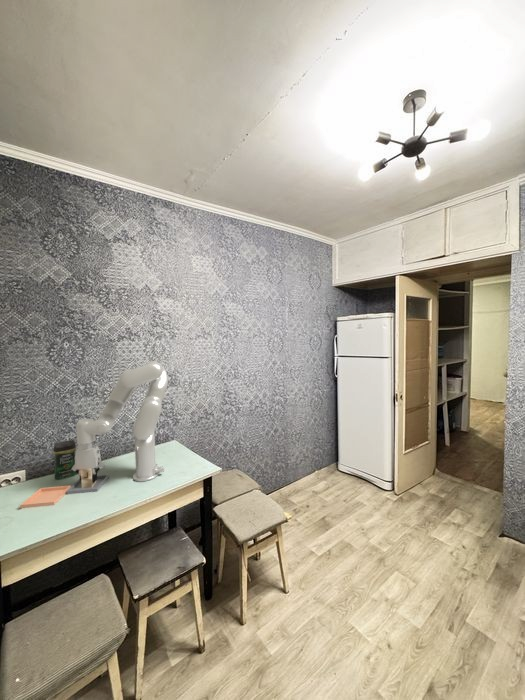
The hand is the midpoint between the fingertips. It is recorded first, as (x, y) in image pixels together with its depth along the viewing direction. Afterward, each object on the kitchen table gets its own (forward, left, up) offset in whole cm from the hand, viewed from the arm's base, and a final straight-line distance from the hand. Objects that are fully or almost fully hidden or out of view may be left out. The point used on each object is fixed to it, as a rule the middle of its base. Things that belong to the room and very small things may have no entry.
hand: (88, 481), depth 134 cm
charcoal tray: (0, 0, -3) cm, 3 cm away
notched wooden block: (0, 0, -2) cm, 2 cm away
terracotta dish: (+14, +8, -3) cm, 16 cm away
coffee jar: (+17, -13, -3) cm, 22 cm away
